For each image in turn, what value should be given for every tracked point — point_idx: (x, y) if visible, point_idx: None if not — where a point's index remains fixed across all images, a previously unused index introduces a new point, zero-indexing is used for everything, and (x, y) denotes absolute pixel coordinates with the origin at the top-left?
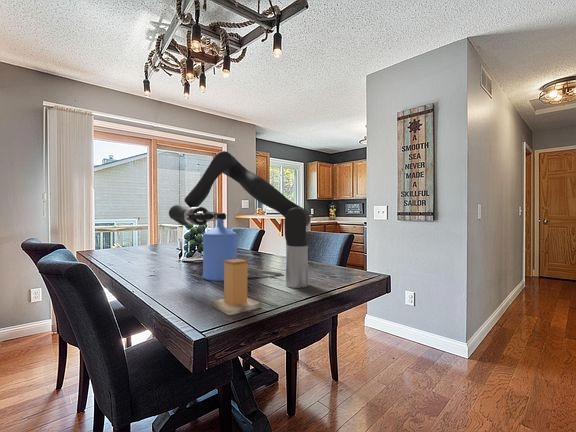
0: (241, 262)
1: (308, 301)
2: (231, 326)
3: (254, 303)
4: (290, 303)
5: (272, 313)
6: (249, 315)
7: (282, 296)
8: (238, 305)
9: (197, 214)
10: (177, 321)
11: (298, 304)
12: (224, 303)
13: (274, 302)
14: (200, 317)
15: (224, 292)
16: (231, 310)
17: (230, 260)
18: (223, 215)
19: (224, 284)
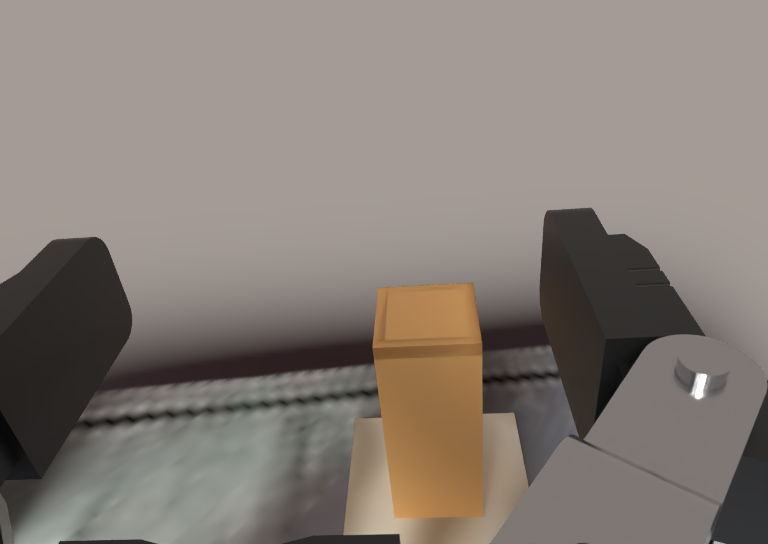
0: (417, 290)
1: (170, 393)
2: (544, 357)
3: (380, 425)
4: (235, 410)
5: (369, 372)
6: None
7: (165, 492)
8: None
9: (721, 363)
10: None
11: (226, 389)
12: (492, 493)
13: (267, 449)
14: None
15: (482, 479)
16: (502, 414)
17: (451, 325)
18: (99, 272)
19: (482, 448)
